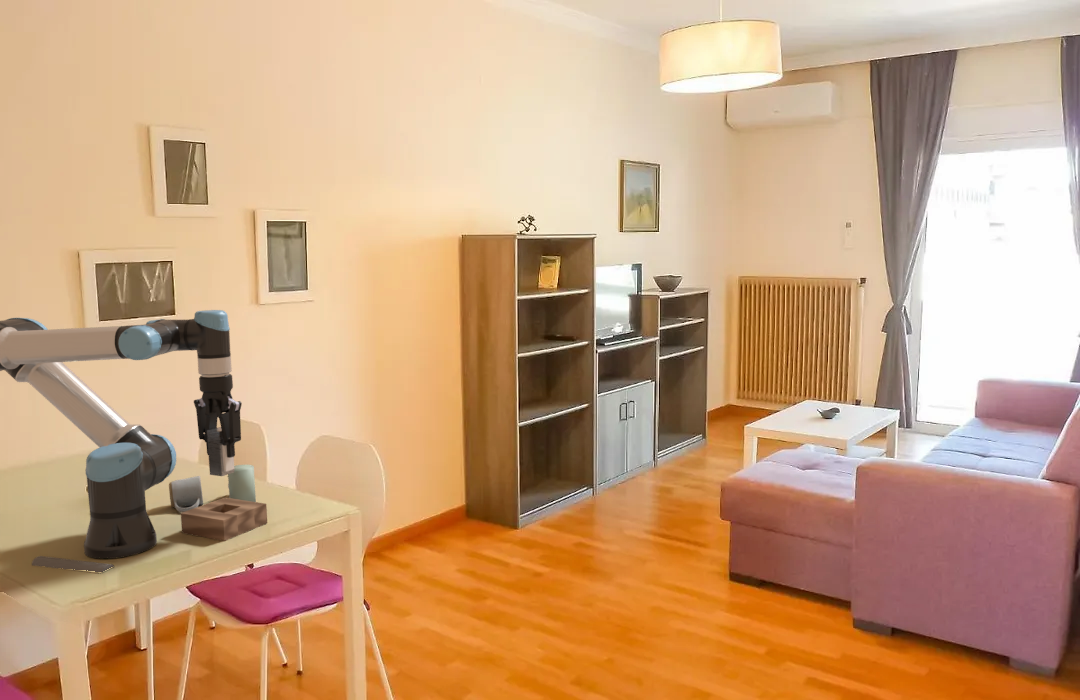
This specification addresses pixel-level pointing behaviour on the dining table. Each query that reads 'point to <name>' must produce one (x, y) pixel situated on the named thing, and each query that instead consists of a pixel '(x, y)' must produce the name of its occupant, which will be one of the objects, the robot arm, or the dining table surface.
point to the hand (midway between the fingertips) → (222, 468)
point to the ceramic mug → (186, 493)
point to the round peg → (242, 483)
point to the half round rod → (70, 564)
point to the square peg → (216, 452)
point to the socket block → (224, 518)
